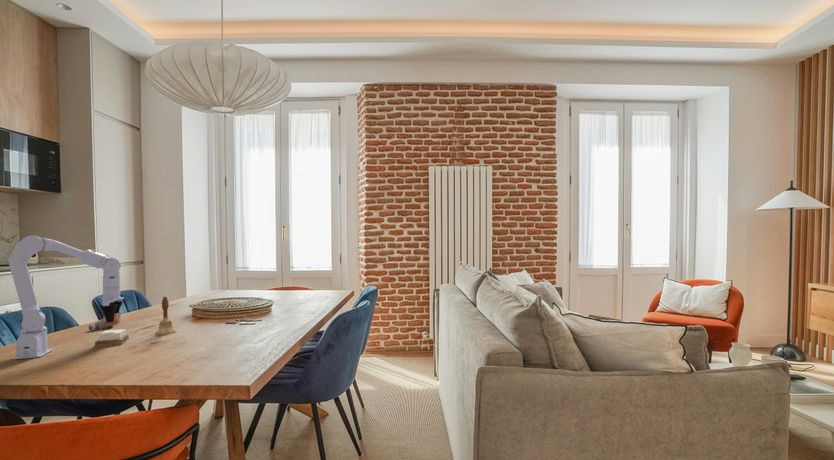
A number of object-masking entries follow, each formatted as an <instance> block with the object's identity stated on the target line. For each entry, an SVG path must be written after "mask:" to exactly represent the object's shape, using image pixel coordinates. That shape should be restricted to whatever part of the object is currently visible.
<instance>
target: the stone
mask: <svg viewBox="0 0 834 460" xmlns="http://www.w3.org/2000/svg"><path fill="white" fill-rule="evenodd" d="M114 326H115V325H109V326H104V322H103V318H102V319H100V320H98V321H96V322H95V323H94V324H93V323H92V324H89V326H88V330H89V331H90V332H94V331H95V330H98V331H99V330H100V329H102V330H105V329H110V328H113V327H114Z"/></svg>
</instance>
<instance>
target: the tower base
mask: <svg viewBox="0 0 834 460" xmlns="http://www.w3.org/2000/svg"><path fill="white" fill-rule="evenodd" d="M129 336H130V335H129V334H125V336H124V337H122V338H121V339H116V340H103V341H99V339H97V340H96V341H94V347H95V348H98V347H110V346H120V345H124V344H125V343H126V342H127V341H128V340H129V338H130V337H129Z"/></svg>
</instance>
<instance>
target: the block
mask: <svg viewBox="0 0 834 460" xmlns="http://www.w3.org/2000/svg"><path fill="white" fill-rule="evenodd" d="M102 319H103V322H104V326H109V325H114V326H117V325H119V324H120V323H121V312H119V313H115V315H114V320H113V322H106V319H105V315H104V314H103V317H102Z"/></svg>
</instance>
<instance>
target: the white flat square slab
mask: <svg viewBox="0 0 834 460" xmlns="http://www.w3.org/2000/svg"><path fill="white" fill-rule="evenodd" d="M125 335H126V328H124V329H121V328H120V329H108V330H104V331H103V332H101V333H99V334H98V340H99V341H103V340H116V339H121V338H122V337H124V336H125Z"/></svg>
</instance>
